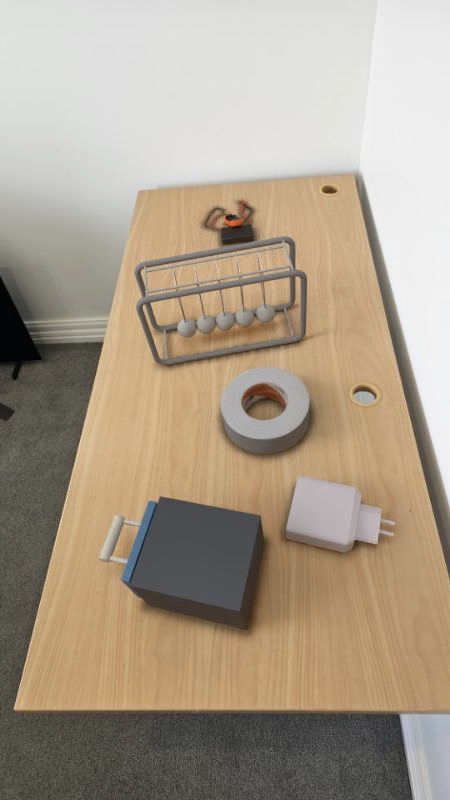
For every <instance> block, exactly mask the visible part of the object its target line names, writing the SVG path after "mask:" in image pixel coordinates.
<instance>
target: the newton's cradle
mask: <svg viewBox="0 0 450 800" xmlns="http://www.w3.org/2000/svg"><path fill="white" fill-rule="evenodd" d="M279 244H280V245H279ZM281 244H282V245H281ZM286 244H288V248H287V245H286ZM274 245H277V246H274ZM269 246H270V247H269ZM271 246H272V247H271ZM262 247H266V248H262ZM258 248H261V249H258ZM251 249H252V250H251ZM253 249H256V250H253ZM277 249H284V252H285V255H286V258H287V260H288V264H289V265H283V266H278V267H273V268H266V269H263V267H262V262H261V259H260V255H259V253H261V252H262V253H263V252H267V251H272V250H277ZM246 250H250V251H246ZM240 251H244V252H240ZM235 252H239V253H235ZM230 253H233V254H230ZM255 253H256V254H257V263H258V269H259V270H256V271H250V272H245V273H241V269H240V265H239V261H238V257H239V256H244V255H245V256H246V255H250V254H255ZM225 254H228V255H225ZM219 255H222V256H219ZM213 256H217V257H213ZM207 257H208V258H207ZM209 257H210V258H209ZM233 257H235V259H236V261H235V262H236V266H237V274H235V275H234V274H233V275H229V276H224V277H219V271H218V265H217V261H218V260H222V259H228V258H233ZM202 258H204V259H202ZM197 259H201V260H197ZM191 260H195V261H191ZM187 261H188V262H187ZM189 261H190V262H189ZM211 261H214V263H215V270H216V276H217V278H213V279H212V278H211V279H206V280H201V281H199V279H198V274H197V270H196V264H202V263H207V262H211ZM182 262H183V263H182ZM175 263H179V264H175ZM170 264H173V265H170ZM164 265H167V266H164ZM190 265H193V269H194V274H195V282H190V283H184V284H179V285H178V281H177V275H176V272H175V268H179V267H184V266H185V267H186V266H190ZM158 266H163V267H158ZM152 267H155V268H152ZM147 268H149V269H147ZM150 268H151V269H150ZM168 269H172V273H173V281H174V284H175V285H173V286H168V287H162V288H156V289H151V290H149V288H148V273H152V272H156V271H163V270H168ZM284 269H285V270H284ZM286 269H289V270H286ZM142 270H143V273H144V278H143V276H142ZM278 270H284V271H279V272H274V271H278ZM268 272H273V273H268ZM264 273H267V274H264ZM256 274H259V275H256ZM251 275H255V276H252V277H251ZM134 276H135V280H136V283H137V286H138V289H139V291H140V295H141V298H140V299H138V301H137V302H136V304H135V309H136V313H137V316H138V318H139V321H140V324H141V328H142V330H143V333H144V335H145V339H146V341H147V344H148V347H149V350H150V353H151V355H152V358H153V360H154V362H155V363H156V364H158V365H160V366H170V365H172V366H173V365H177V364H181V363H187V362H192V361H194V362H195V361H199V360H205V359H210V358H216V357H220V356H226V355H232V354H237V353H243V352H249V351H255V350H259V349H266V348H272V347H276V346H281V345H288V344H293V343H297V342H300V341H301V340H302V339H304V337H305V336H306V334H307V309H308V308H307V305H308V276H307V273H305V272H304V271H303V270H301V269H296V242H295V241H294V239H293V238H291V237H290V236H287V235H284V236H283V235H282V236H277V237H271V238H266V239H261V240H255V241H248V242H243V243H239V244H234V245H233V244H232V245H229V246H222V247H218V248H211V249H205V250H201V251H195V252H189V253H184V254H179V255H173V256H167V257H163V258H162V257H161V258H157V259H152V260H146V261H143V262H140V263H138V264H137V265H136V266H135V268H134ZM246 276H250V277H246ZM242 277H246V278H242ZM296 277H298V278H299V279H300V304H299V305H300V307H299V308H300V310H299V311H300V315H299V333H298V334H296V335H295V334H294V331H293V327H292V323H291V321H290V318H289V314H288V311H287V310H288V309H290V308H292V307H293V306H294V305H295V303H296ZM233 278H234V279H233ZM235 278H238V279H235ZM288 278H289V300H288V301H287V302H286V303H283V304H277V305H273V306H272V305H271V304H269V303H268V304H267V303H266V295H265V294H266V293H265V282H271V281H272V282H273V281H276V280H283V279H288ZM229 279H233V280H229ZM223 280H229V281H224V282H221V281H223ZM212 282H213V284H207V283H212ZM214 282H218V283H214ZM259 283H260V285H261V293H262V298H263V299H262V300H263V304H261V305H259V306H258V307H257V308H256V309H250V308H248V307H245V302H244V291H243V287H244V286H249V285H254V284H259ZM202 284H203V285H202ZM204 284H207V285H204ZM200 285H202V286H200ZM192 286H196V287H192ZM185 287H190V288H185ZM237 287H238V288H239V289H240V290H239V291H240V298H241V304H242V308H239V309H238V310H237V311H236V312H234V313H231V312H230V311H225V307H224V300H223V295H222V291H223V290H226V289H232V288H237ZM180 288H185V289H180ZM174 289H175V290H174ZM170 290H174V291H170ZM164 291H167V292H164ZM168 291H169V292H168ZM217 291H219V295H220V299H221V300H220V301H221V305H222V306H221V307H222V311H221V312H220V313H218V314H217V316H211V315H209V314H205V309H204V304H203V299H202V295H201V294H205V293H210V292H217ZM157 292H163V293H157ZM153 293H157V294H153ZM149 294H153V295H149ZM194 295H198V296H199V300H200V304H201V308H202V314H203V315H201V316H200V317H198V319H195V320H193V319H191V318H188V317H187V318H186V317H185V311H184V308H183V307H184V306H183V302H182V298H183V297H190V296H194ZM172 299H178V302H179V306H180V310H181V313H182V316H183V317H182V318H183V319H180V321H179V322H177V323H173V324H167V325H159V324H158V323H157V319H156V317H155V314H154V309H153V308H152V303H157V302H162V301H166V300H172ZM144 307H145V310H146V313H147V315H148V318H149V321H150V325H151V327H152V328H153V329H154V330H156V331H157V332H163V336H164V337H163V338H164V350H165V359H163V358H161V357H160V355H159V352H158V349H157V346H156V343H155V340H154V337H153V335H152V331H151V328H150V326H149V323H148V319H147V317H146V314H145V311H144ZM280 311H284V314H285V317H286V321H287V324H288V328H289V330H290V334H291V336H290V337H285V338H279V339H272V340H268V341H267V340H266V341H263V342H257V343H256V342H255V343H251V344H245V345H240V346H234V347H228V348H223V349H217V350H213V351H212V350H211V351H206V352H201V353H195V354H189V355H184V356H179V357H173V358H169V353H168V341H167V332H170V331H175V330H177V332H178V334H179V335H180V336H181V337H183V338H186V339H189V338H191V337H193V336H194V335H195V334H196V333H197V330H198V331H199V333H201V334H203V335H210V334H211V333H213V332H214V331H215V329H216V327H217V328H218V329H219V330H221V331H225V332H226V331H227V332H228V331H230V330H231V329H233V328H234V326H235V324H237V325H238V326H239V327H241V328H248V327H250V326H251V325H253V323H254V320H255V316H256V318H257V321H259V322H260V323H262V324H270V323H271V322H273V321H274V319H275V317H276V312H280Z"/></svg>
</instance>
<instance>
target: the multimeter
mask: <svg viewBox="0 0 450 800" xmlns="http://www.w3.org/2000/svg"><path fill="white" fill-rule="evenodd" d="M238 202H239V203H241V212H243V211H244V207H246V208H247V209H248V210H250V211H251V212H250V213H249V215H247V216H246V215H244V214H242V216H243V218H244V217H245V219H244V220H243V218H241V217H239V216H238V215H236V214H234V213H233V214H232V213H231V212H230V211H227V212H224V209H223V208H220V207H216V208H214V209H213V210H212V211H211V212H210V214H209V215H208V217H207V218H206V221H205V223H204V224H205V225H204V226H205V227H207V228H213V229H216V230H218V231H220V235H221V243H222V245H229V244H236V243H249V242H254V234H253V233H254V232H253V226H252V224H250V223H251V219H250V215H251V214H252V213H253V212H252V209H251V207H250V206H248V205H246V204H245V203H244V198H243V197H242V199H241V201H240V200H238ZM217 209H219V210H221V211H222V213H220V214H219V215H217V216H216V217H215V218H214V220H213V221H212V223H211V224H210V225H209V226H208V225H207V221H208V220H209V218H210V216H211V215H212V214H213V212H214V211H215V210H217ZM221 215H222V216H224V223H225V224H226V225H228V226H223V227H220V228H217V227H215V226H212V225H214V222H216V220H217V218H218V217H219V216H221ZM246 220H249V222H248V223H247V224H243V223H244V222H246Z"/></svg>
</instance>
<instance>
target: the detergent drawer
mask: <svg viewBox="0 0 450 800" xmlns="http://www.w3.org/2000/svg"><path fill="white" fill-rule="evenodd" d="M157 504H158V501H153V500H148V502H147V505H146V507H145V510H144V513H143V516H142V519H141V521H139V520H134V519H129V518H126V517H125V516H123V515H121V514H115V515H114V517H113V519H112V523H111V525H110V528H109V530H108V533H107V535H106V538H105V540H104V543H103V546H102V548H101V550H100V553H99V556H98V560H99V561H101V562H103V563H110V562H113V563H118V564H122V565H125V567H124V569H123V572H122V575H121V578H120V581H121V582H122V583H123V584H124V585H125V586H126V587H127V589H129V590H130V591H131V592H132V593H133V594H134V595H135V596H136V597H137V598H138V599H142V598H141V597H140V596H139V595H138V594H137V593H136V592H135V591H134V590H133V589H132V588H131V587H130V582H131V579H132V576H133V574H134V571H135V568H136V565H137V562H138V559H139V556H140V553H141V550H142V547H143V544H144V541H145V539H146V536H147V533H148V530H149V527H150V524H151V521H152V518H153V515H154V512H155V509H156V506H157ZM124 525H128V526H132V527H138V529H137V533H136V536H135V538H134V542H133V544H132V547H131V550H130V552H129V556H128V558H123V557H119V556H115V555H113V554H114V551H115V548H116V545H117V543H118V541H119V538H120V535H121V532H122V530H123V527H124Z"/></svg>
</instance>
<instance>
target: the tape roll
mask: <svg viewBox="0 0 450 800" xmlns="http://www.w3.org/2000/svg"><path fill="white" fill-rule="evenodd" d="M262 400H263V401H264V400H271V401H275V402H278V403H279V404H281V405H282V406H283V408H284V410H283V411H282V412H281V413H280V414H278V415H277V416H275V417H273V418H269V419H258V418H255V417H252V416H250V414H248V413H247V410H248V409H249V408H250V407H251V406H252V405H253V404H254V403H255V404H256V403H257V402H259V401H262ZM219 407H220V413H221V417H222V422H223V423H222V424H223V427H224V430H225V433H226V434H227V436H228V438H229V439H230V440H231V442H233V444H235V445H236V446H237V447H239V448H240V449H242V450H244V451H247V452H249V453H253V454H257V455H271V454H278V453H281V452H284V451H287V450H288V449H290V448H293V446H295V445H296V444H298V443H299V442H300V441H301V439H302V438H303V437H304V435H306V432H307V431H308V428H309V426H310V418H311V400H310V393H309V390H308V388H307V386H306V385H305V383H304V382H303V380H302V379H300V378H299V377H297V375H295V374H294V373H291V371H287V370H285V369H283V368H281V367H276V366H275V367H274V366H258V367H253V368H250V369H246V370H244V371H242V372H241V373H239V374H237V375H236V376H235V377H234V378H233V379H232V380H231V381H230V382H229V383H228V384H227V385H225V388H224V389H223V391H222V394H221V396H220V406H219Z"/></svg>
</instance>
